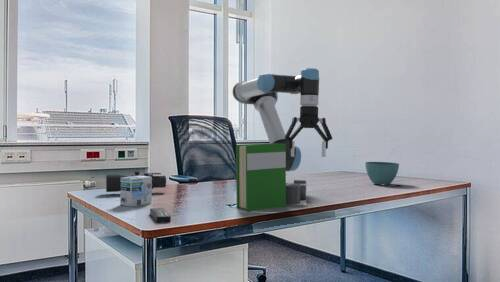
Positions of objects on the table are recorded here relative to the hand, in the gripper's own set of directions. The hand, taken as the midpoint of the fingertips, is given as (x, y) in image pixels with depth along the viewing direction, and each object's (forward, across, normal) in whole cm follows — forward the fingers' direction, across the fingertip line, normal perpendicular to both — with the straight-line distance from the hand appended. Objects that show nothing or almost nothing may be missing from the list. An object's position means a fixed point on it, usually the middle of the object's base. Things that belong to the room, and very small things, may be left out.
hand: (308, 156), depth 170 cm
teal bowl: (+19, +60, +50) cm, 81 cm away
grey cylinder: (+18, -9, -5) cm, 21 cm away
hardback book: (+19, -22, -14) cm, 32 cm away
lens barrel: (+18, -3, +2) cm, 19 cm away
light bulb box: (+19, -70, 0) cm, 72 cm away
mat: (+19, -7, -2) cm, 20 cm away
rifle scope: (+20, -72, +28) cm, 80 cm away
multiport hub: (+19, -59, -27) cm, 68 cm away
